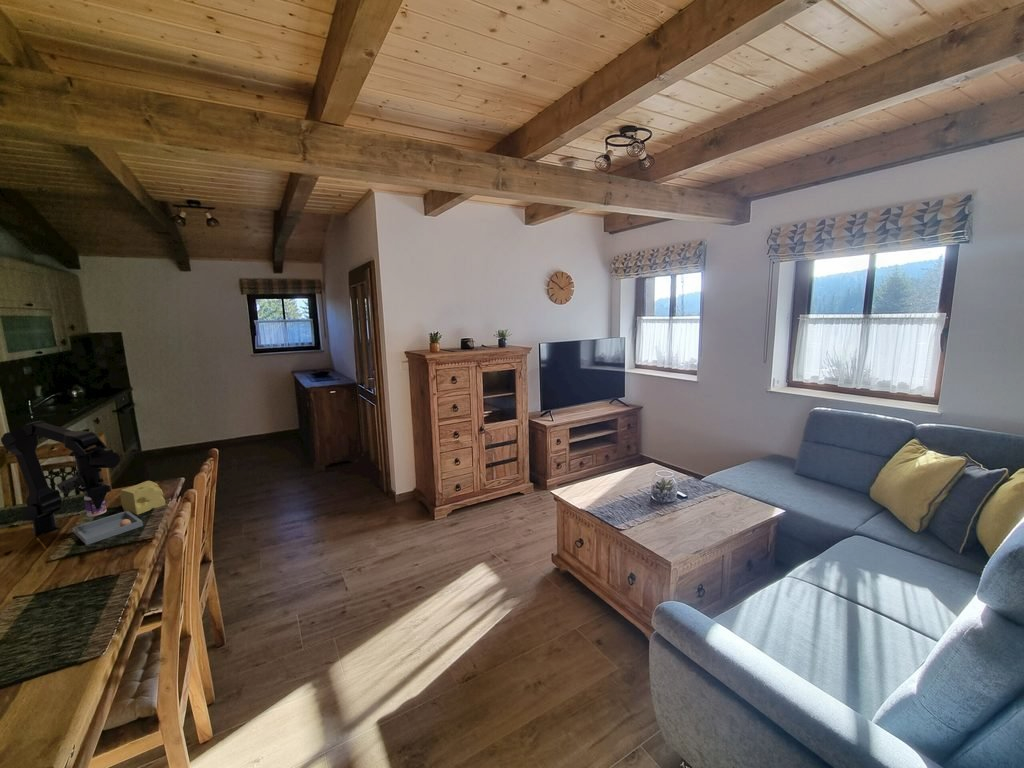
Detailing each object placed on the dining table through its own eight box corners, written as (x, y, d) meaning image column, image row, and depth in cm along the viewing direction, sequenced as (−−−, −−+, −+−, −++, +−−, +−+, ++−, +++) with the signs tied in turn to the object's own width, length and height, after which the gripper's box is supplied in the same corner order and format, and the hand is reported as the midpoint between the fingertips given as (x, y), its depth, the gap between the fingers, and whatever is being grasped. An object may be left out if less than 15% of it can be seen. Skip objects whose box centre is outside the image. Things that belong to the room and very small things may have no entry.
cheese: (166, 505, 183) (162, 483, 182) (135, 517, 174) (131, 493, 172) (152, 501, 188) (148, 479, 186) (122, 512, 178) (117, 489, 176)
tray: (73, 534, 161) (72, 527, 161) (128, 516, 174) (127, 510, 174) (86, 546, 152) (85, 539, 152) (143, 527, 165) (142, 520, 165)
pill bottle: (94, 517, 158) (89, 492, 156) (83, 516, 159) (78, 491, 157) (110, 510, 163) (106, 486, 161) (99, 509, 164) (95, 485, 162)
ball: (119, 528, 164) (117, 520, 163) (129, 524, 166) (128, 516, 166) (122, 530, 162) (120, 522, 161) (132, 526, 165) (131, 518, 164)
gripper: (50, 468, 156) (58, 509, 159) (64, 480, 146) (72, 522, 149) (91, 459, 165) (98, 497, 168) (107, 469, 155) (115, 510, 158)
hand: (95, 506), depth 160 cm, fingers closed on pill bottle, 5 cm apart
